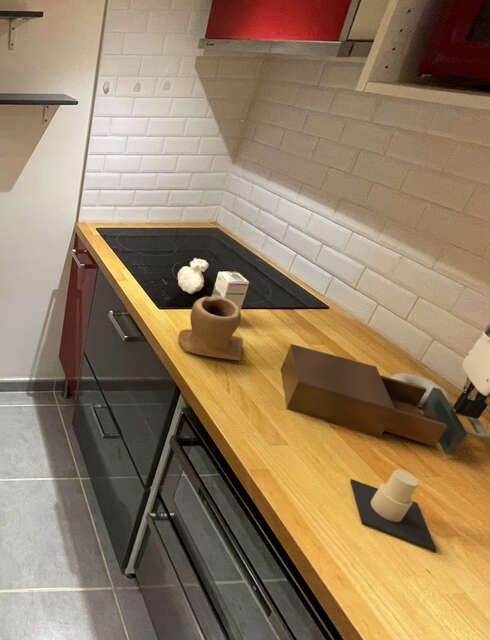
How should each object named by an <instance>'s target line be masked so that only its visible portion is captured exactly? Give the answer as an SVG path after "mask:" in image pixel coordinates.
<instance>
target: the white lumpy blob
mask: <svg viewBox="0 0 490 640" xmlns="http://www.w3.org/2000/svg"><path fill="white" fill-rule="evenodd" d="M189 265H190V266H187V265H185V266H182V267H181V268H180V269H179V271H178V272H177V285H178V286H179V288H180V289H181V290H182V291H183V292H186V293H187V294H189V295H193V294H195V293H196V292H199V291H201V290H202V288H204V283H205V280H204V279H205V278H204V275H203V273H205V272H206V270H207V269H208V268H209V267H210V266H209V263H208V262H207V260H205V259H201V258H197V257H194V258H193V260H192V261H190V262H189ZM202 272H203V273H202Z"/></svg>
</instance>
